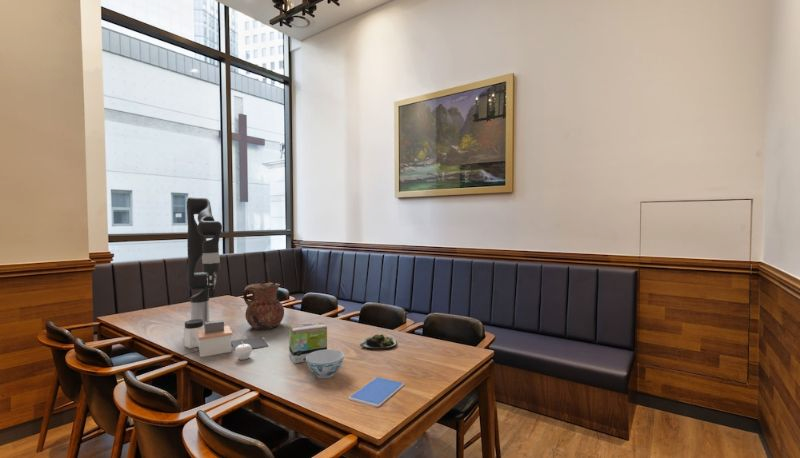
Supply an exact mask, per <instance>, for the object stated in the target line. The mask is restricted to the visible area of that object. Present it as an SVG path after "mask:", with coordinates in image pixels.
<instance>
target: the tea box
mask: <svg viewBox="0 0 800 458" xmlns="http://www.w3.org/2000/svg"><path fill="white" fill-rule="evenodd" d="M288 329H289V331H288V334H289V336H288V341H289V342H288V343H289V346H288V349H289V350H288V352H289V353H288V356H289V358H290V359H291V360H290V361H291V362H292V363H293V364H294V365H295V364H298V363H299V364H300V363H303V362H306V356H307V355H308V354H310V353H312V352H315V351H318V350H326V349H328V326H326V325H325V323H324V322H323V321H316V322H315V321H314V322H307V323H306V322H305V323H299V324H298V323H297V324H290V325H289V328H288Z"/></svg>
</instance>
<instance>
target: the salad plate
mask: <svg viewBox="0 0 800 458" xmlns="http://www.w3.org/2000/svg"><path fill="white" fill-rule="evenodd" d="M396 346H397V341H396V338H394V337H392V336H384V334H382V333H381V334H379V333H377V334H375V335H373V336H371V337H366V338H364V339H363V341H362V343H360V344H359V347H362V348H364V349H365V350H368V351H385V350H387V351H388V350H392V349H394V348H395V347H396Z"/></svg>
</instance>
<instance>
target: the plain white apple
mask: <svg viewBox="0 0 800 458" xmlns="http://www.w3.org/2000/svg"><path fill="white" fill-rule="evenodd" d="M241 342H242V341H241ZM252 351H253V349H252V347H251V346H250V345H249V344H244V343H243V342H242V345H239V346H237V347H236V348H235V350H234V353H235V356H236V358H237V360H241V361H243V360H247V359H249V358H250V357H251V354H252Z"/></svg>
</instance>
